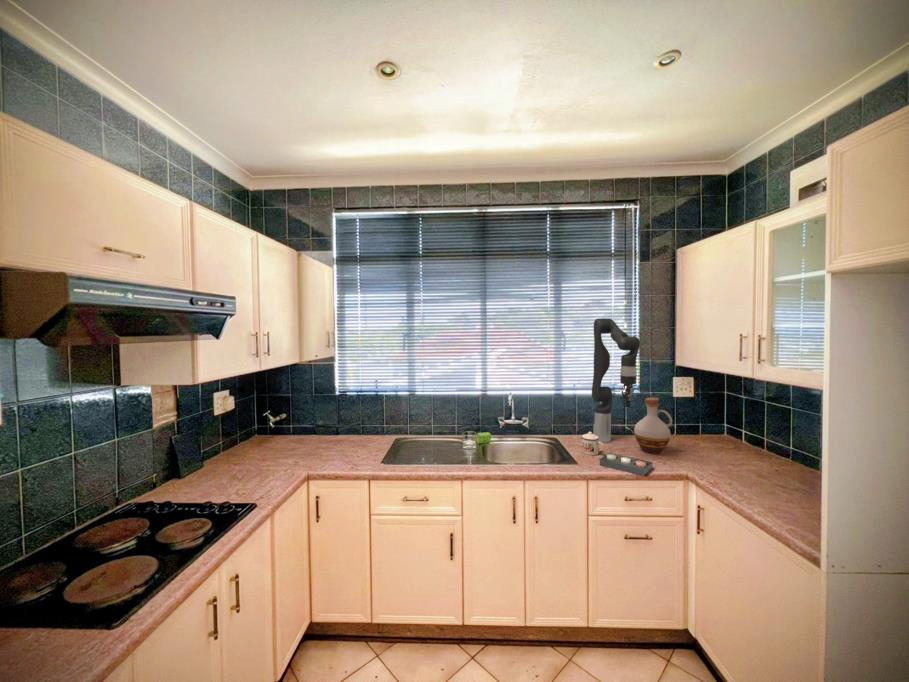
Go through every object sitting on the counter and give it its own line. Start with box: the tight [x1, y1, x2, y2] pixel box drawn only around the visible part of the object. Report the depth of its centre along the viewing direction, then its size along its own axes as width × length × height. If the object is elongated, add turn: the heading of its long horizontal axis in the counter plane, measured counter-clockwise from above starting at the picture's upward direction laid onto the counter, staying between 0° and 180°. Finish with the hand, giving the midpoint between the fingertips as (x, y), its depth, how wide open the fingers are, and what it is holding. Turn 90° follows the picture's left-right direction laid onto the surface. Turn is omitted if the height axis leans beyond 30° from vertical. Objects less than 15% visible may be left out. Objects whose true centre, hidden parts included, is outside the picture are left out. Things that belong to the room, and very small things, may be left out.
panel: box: [599, 452, 654, 477], centre depth 179 cm, size 21×13×3 cm, turn 46°
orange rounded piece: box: [636, 461, 646, 467], centre depth 174 cm, size 4×4×4 cm
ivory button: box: [621, 456, 631, 464], centre depth 179 cm, size 4×4×4 cm
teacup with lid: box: [581, 431, 605, 456], centre depth 199 cm, size 12×9×12 cm
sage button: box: [606, 453, 616, 460], centre depth 184 cm, size 4×4×4 cm
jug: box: [633, 397, 673, 455], centre depth 200 cm, size 20×18×30 cm
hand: (627, 407), depth 189 cm, fingers closed
